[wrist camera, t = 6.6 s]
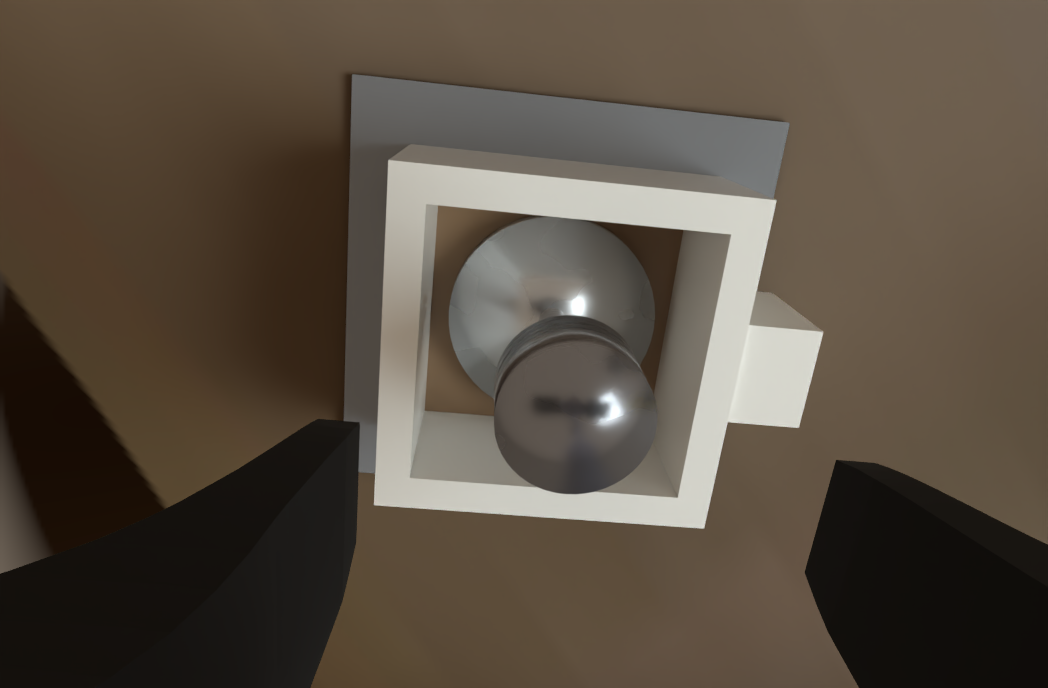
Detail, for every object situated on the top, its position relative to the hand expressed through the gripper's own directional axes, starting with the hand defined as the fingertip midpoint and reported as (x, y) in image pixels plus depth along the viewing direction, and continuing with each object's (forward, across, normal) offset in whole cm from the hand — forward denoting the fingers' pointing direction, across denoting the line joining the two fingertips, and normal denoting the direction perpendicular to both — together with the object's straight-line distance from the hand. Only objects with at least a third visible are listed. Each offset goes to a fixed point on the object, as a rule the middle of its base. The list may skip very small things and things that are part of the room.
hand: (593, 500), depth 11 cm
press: (+10, 0, 0) cm, 10 cm away
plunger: (+9, 0, 0) cm, 9 cm away
